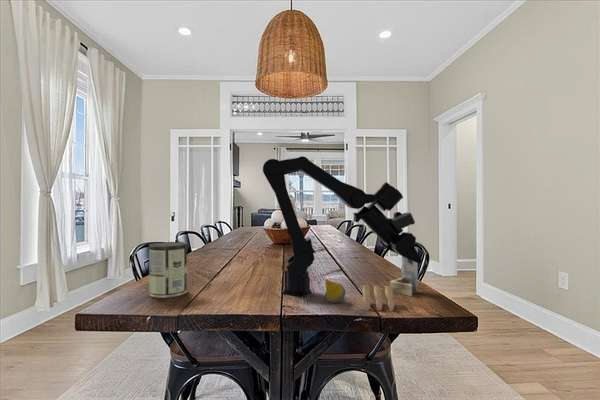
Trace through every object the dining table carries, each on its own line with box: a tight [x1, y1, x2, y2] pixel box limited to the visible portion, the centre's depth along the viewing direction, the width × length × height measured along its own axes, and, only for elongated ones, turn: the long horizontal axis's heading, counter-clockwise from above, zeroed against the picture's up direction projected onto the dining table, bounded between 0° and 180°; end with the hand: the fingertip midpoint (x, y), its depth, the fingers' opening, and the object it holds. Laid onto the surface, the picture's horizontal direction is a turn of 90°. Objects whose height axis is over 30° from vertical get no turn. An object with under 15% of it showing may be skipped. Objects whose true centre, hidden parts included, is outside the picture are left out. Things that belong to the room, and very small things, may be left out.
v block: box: [389, 277, 413, 297], centre depth 105 cm, size 5×9×3 cm, turn 3°
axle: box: [401, 246, 419, 295], centre depth 106 cm, size 4×4×13 cm
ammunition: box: [362, 284, 395, 312], centre depth 91 cm, size 5×7×8 cm
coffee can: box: [148, 241, 188, 299], centre depth 102 cm, size 10×10×14 cm
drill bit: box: [324, 278, 346, 304], centre depth 94 cm, size 5×5×10 cm
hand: (414, 260), depth 106 cm, fingers open, 9 cm apart
